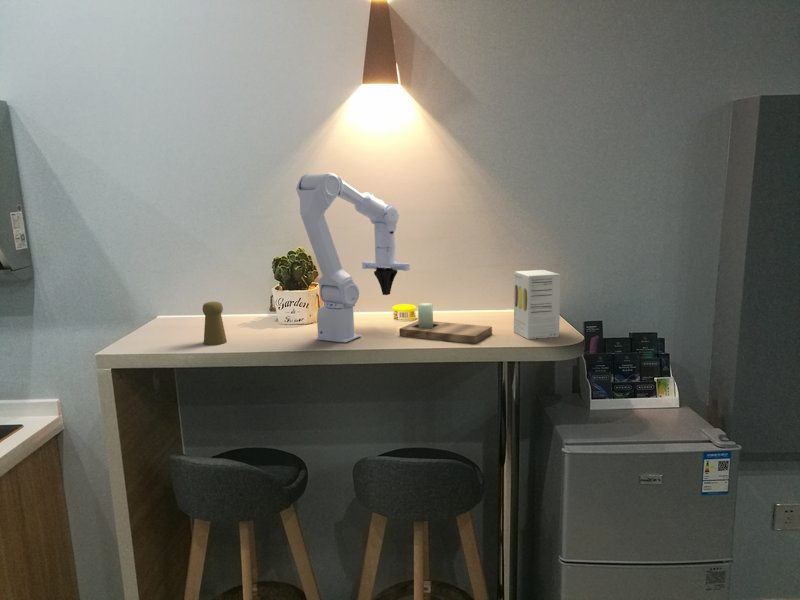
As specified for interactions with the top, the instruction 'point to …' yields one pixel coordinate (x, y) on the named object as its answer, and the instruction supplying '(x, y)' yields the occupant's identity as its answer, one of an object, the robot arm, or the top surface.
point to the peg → (425, 315)
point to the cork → (213, 324)
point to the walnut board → (448, 332)
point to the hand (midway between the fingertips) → (386, 294)
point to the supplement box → (536, 303)
